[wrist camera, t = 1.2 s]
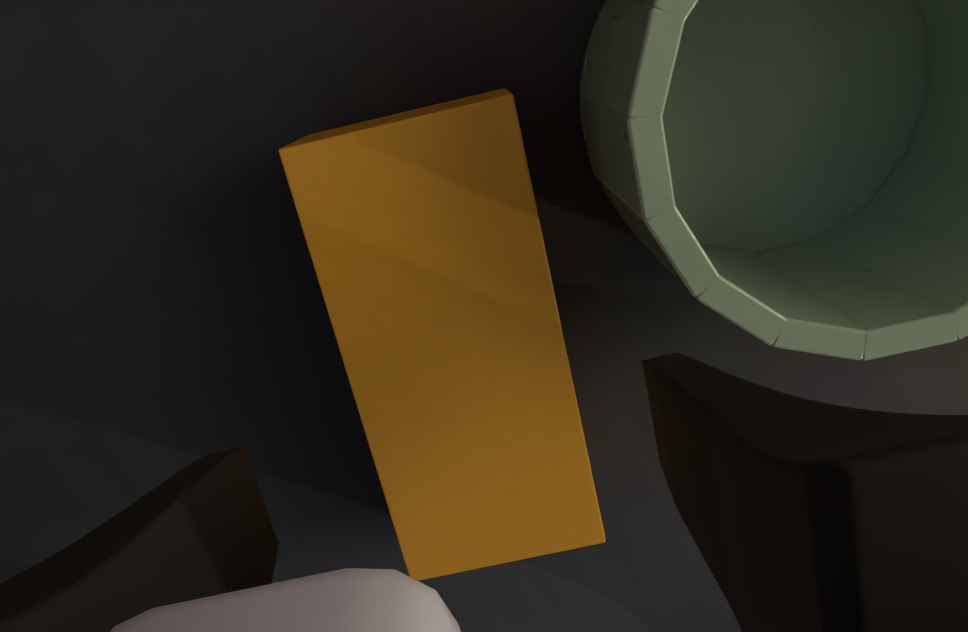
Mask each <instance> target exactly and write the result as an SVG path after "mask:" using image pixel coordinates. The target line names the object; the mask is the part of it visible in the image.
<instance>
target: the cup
mask: <svg viewBox="0 0 968 632" xmlns="http://www.w3.org/2000/svg"><path fill="white" fill-rule="evenodd" d="M579 98H580V101H579V105H580V118H581V127H582V135H583V139H584V143H585V147H586V151H587V155H588V158H589V161H590V165H591V170H592V171H593V175H594V176H595V178H596V179H597V181H598V182H599V184H600V185H601V187H602V189H603V190H604V192H605V194H606V196H607V198H608V199H609V200H610V201H611V203H612V204H613V205H614V207H615V208H616V209H617V211H618V212H619V214H620V215H621V217H622V218H623V220H624V222H625V223H626V225H627V226H628V227H629V229H630V230H631V231H632V232H633V233H634V234H635V235H636V236H637V237H638V238H639V239H640V240H641V241H642V242H643V244H644V245H645V246H646V247H647V248H648V249H649V250H650V251H651V252H652V253H653V254H654V255H655V256H656V258H657V259H658V260H659V261H660V262H661V263H662V264H663V265H664V266H665V267H666V268H667V269H668V270H669V272H670V273H671V274H672V275H673V276H674V277H675V278H676V279H677V280H678V281H679V282H680V283H681V284H682V286H683V287H684V288H685V289H686V290H687V291H688V292H689V293H690V294H691V295H692V296H693V297H694V298H695V299H696V300H697V301H698V302H700V303H702V304H703V305H705V306H706V307H708V308H710V309H711V310H713V311H714V312H716V313H717V314H719V315H721V316H722V317H724V318H725V319H727V320H728V321H730V322H732V323H733V324H735V325H736V326H738V327H740V328H741V329H743V330H744V331H746V332H747V333H749V334H751V335H752V336H754V337H755V338H757V339H759V340H760V341H762V342H763V343H765V344H766V345H771V346H773V347H775V348H781V349H787V350H794V351H800V352H807V353H813V354H819V355H826V356H832V357H838V358H845V359H851V360H865V361H866V360H871V359H875V358H880V357H885V356H889V355H894V354H899V353H904V352H908V351H913V350H918V349H922V348H927V347H932V346H936V345H941V344H946V343H950V342H955V341H957V340H961V339H963V338H964V337H966V336H968V0H606V1H605V3H604V5H603V7H602V8H601V10H600V12H599V15H598V17H597V18H596V22H595V24H594V26H593V30H592V32H591V35H590V37H589V41H588V45H587V49H586V53H585V56H584V60H583V66H582V74H581V81H580V95H579Z"/></svg>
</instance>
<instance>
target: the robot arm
mask: <svg viewBox="0 0 968 632" xmlns="http://www.w3.org/2000/svg"><path fill="white" fill-rule="evenodd" d="M642 362H643V368H644V374H645V379H646V385H647V391H648V396H649V402H650V408H651V414H652V419H653V425H654V431H655V436H656V442H657V448H658V454H659V459H660V464H661V467H662V470H663V472H664V475H665V478H666V481H667V483H668V486H669V489H670V491H671V494H672V497H673V499H674V502H675V504H676V507H677V509H678V511H679V513H680V515H681V517H682V519H683V520H684V522H685V524H686V526H687V528H688V530H689V532H690V533H691V535H692V537H693V539H694V541H695V543H696V544H697V546H698V548H699V550H700V552H701V554H702V555H703V557H704V559H705V561H706V563H707V564H708V566H709V568H710V570H711V572H712V574H713V575H714V577H715V579H716V581H717V583H718V584H719V586H720V588H721V590H722V592H723V594H724V595H725V597H726V599H727V601H728V603H729V605H730V607H731V609H732V611H733V613H734V615H735V617H736V619H737V621H738V623H739V625H740V628H741V630H742V632H968V415H925V414H905V413H890V412H882V411H873V410H864V409H856V408H849V407H843V406H837V405H832V404H827V403H823V402H818V401H813V400H809V399H804V398H800V397H796V396H793V395H789V394H785V393H782V392H779V391H776V390H773V389H770V388H767V387H763V386H760V385H758V384H755V383H752V382H749V381H747V380H744V379H741V378H739V377H736V376H734V375H731V374H729V373H726V372H724V371H722V370H719V369H717V368H714V367H712V366H710V365H707V364H705V363H703V362H700V361H698V360H696V359H693V358H691V357H688V356H686V355H683V354H680V353H674V354H670V355H665V356H661V357H656V358H651V359H647V360H642ZM278 543H279V542H278V540H277V537H276V534H275V531H274V529H273V526H272V523H271V521H270V518H269V515H268V512H267V510H266V507H265V504H264V502H263V499H262V496H261V493H260V491H259V488H258V485H257V482H256V480H255V477H254V474H253V472H252V469H251V466H250V463H249V461H248V458H247V455H246V453H245V450H244V447H239V448H234V449H230V450H225V451H220V452H216V453H211V454H209V455H207V456H204V457H202V458H200V459H199V460H197V461H195V462H193V463H192V464H190V465H188V466H187V467H185V468H184V469H182V470H181V471H179V472H178V473H176V474H175V475H173V476H172V477H170V478H169V479H167V480H166V481H164V482H163V483H162V484H160V485H159V486H157V487H156V488H154V489H153V490H152V491H150V492H149V493H147V494H146V495H144V496H143V497H142V498H140V499H139V500H137V501H136V502H134V503H133V504H132V505H130V506H129V507H127V508H126V509H124V510H123V511H121V512H120V513H118V514H117V515H115V516H114V517H112V518H111V519H109V520H108V521H106V522H105V523H103V524H102V525H100V526H99V527H97V528H96V529H94V530H93V531H91V532H89V533H88V534H86V535H85V536H83V537H82V538H80V539H79V540H77V541H76V542H74V543H72V544H71V545H69V546H68V547H66V548H64V549H63V550H61V551H59V552H57V553H56V554H54V555H52V556H51V557H49V558H47V559H45V560H44V561H42V562H40V563H38V564H36V565H35V566H33V567H31V568H29V569H27V570H25V571H24V572H22V573H20V574H18V575H16V576H14V577H12V578H10V579H9V580H7V581H4V582H2V583H0V632H461V631H460V628H459V625H458V623H457V622H456V620H455V618H454V617H453V615H452V614H451V612H450V611H449V609H448V608H447V606H446V605H445V603H444V602H443V600H442V599H441V597H440V596H439V594H438V593H437V591H436V590H434V589H432V588H430V587H428V586H426V585H424V584H422V583H420V582H418V581H417V580H415V579H413V578H411V577H409V576H407V575H405V574H403V573H401V572H399V571H397V570H395V569H354V568H345V569H341V570H336V571H331V572H326V573H321V574H316V575H311V576H306V577H302V578H297V579H292V580H287V581H282V582H277V583H272V584H271V582H272V578H273V573H274V568H275V562H276V555H277V549H278Z"/></svg>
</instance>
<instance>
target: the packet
mask: <svg viewBox="0 0 968 632" xmlns="http://www.w3.org/2000/svg"><path fill="white" fill-rule="evenodd" d="M279 155H280V158H281V161H282V164H283V168H284V171H285V174H286V177H287V181H288V184H289V187H290V190H291V194H292V197H293V200H294V203H295V207H296V210H297V213H298V216H299V220H300V223H301V226H302V229H303V233H304V236H305V239H306V242H307V246H308V249H309V252H310V255H311V259H312V262H313V265H314V268H315V272H316V275H317V278H318V281H319V285H320V288H321V291H322V294H323V298H324V301H325V304H326V307H327V310H328V314H329V317H330V320H331V323H332V327H333V330H334V333H335V336H336V340H337V343H338V346H339V349H340V353H341V356H342V359H343V362H344V366H345V369H346V372H347V375H348V379H349V382H350V385H351V388H352V392H353V395H354V398H355V401H356V405H357V408H358V411H359V414H360V418H361V421H362V424H363V427H364V431H365V434H366V437H367V440H368V444H369V447H370V450H371V453H372V457H373V460H374V463H375V466H376V470H377V473H378V476H379V479H380V483H381V486H382V489H383V492H384V496H385V499H386V502H387V505H388V509H389V512H390V515H391V518H392V522H393V525H394V528H395V531H396V535H397V538H398V541H399V544H400V548H401V551H402V554H403V557H404V561H405V564H406V567H407V570H408V574H409V577H411V578H413V579H415V580H417V581H419V580H424V579H429V578H434V577H439V576H443V575H448V574H453V573H458V572H463V571H468V570H473V569H478V568H483V567H488V566H492V565H497V564H502V563H507V562H512V561H517V560H522V559H527V558H532V557H536V556H541V555H546V554H551V553H556V552H561V551H566V550H571V549H576V548H581V547H585V546H590V545H595V544H600V543H605V541H606V539H605V534H604V529H603V524H602V519H601V515H600V510H599V505H598V500H597V495H596V491H595V486H594V481H593V476H592V471H591V466H590V462H589V457H588V452H587V447H586V442H585V438H584V433H583V428H582V423H581V418H580V414H579V409H578V404H577V399H576V394H575V390H574V385H573V380H572V375H571V370H570V366H569V361H568V356H567V351H566V346H565V341H564V337H563V332H562V327H561V322H560V317H559V313H558V308H557V303H556V298H555V293H554V289H553V284H552V279H551V274H550V269H549V265H548V260H547V255H546V250H545V245H544V241H543V236H542V231H541V226H540V221H539V216H538V212H537V207H536V202H535V197H534V192H533V188H532V183H531V178H530V173H529V168H528V164H527V159H526V154H525V149H524V144H523V140H522V135H521V130H520V125H519V120H518V116H517V111H516V106H515V101H514V96H513V95H512V94H511V93H510V92H509V91H508V90H507V89H506V88H502V89H498V90H494V91H490V92H486V93H481V94H477V95H473V96H469V97H465V98H460V99H456V100H452V101H448V102H444V103H439V104H435V105H431V106H427V107H423V108H418V109H414V110H410V111H406V112H402V113H397V114H393V115H389V116H385V117H381V118H376V119H372V120H368V121H364V122H360V123H355V124H351V125H347V126H343V127H338V128H334V129H330V130H326V131H322V132H317V133H313V134H309V135H307V136H305V137H303V138H301V139H299V140H297V141H295V142H293V143H291V144H289V145H287V146H285V147H283V148H281V149H279Z"/></svg>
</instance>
